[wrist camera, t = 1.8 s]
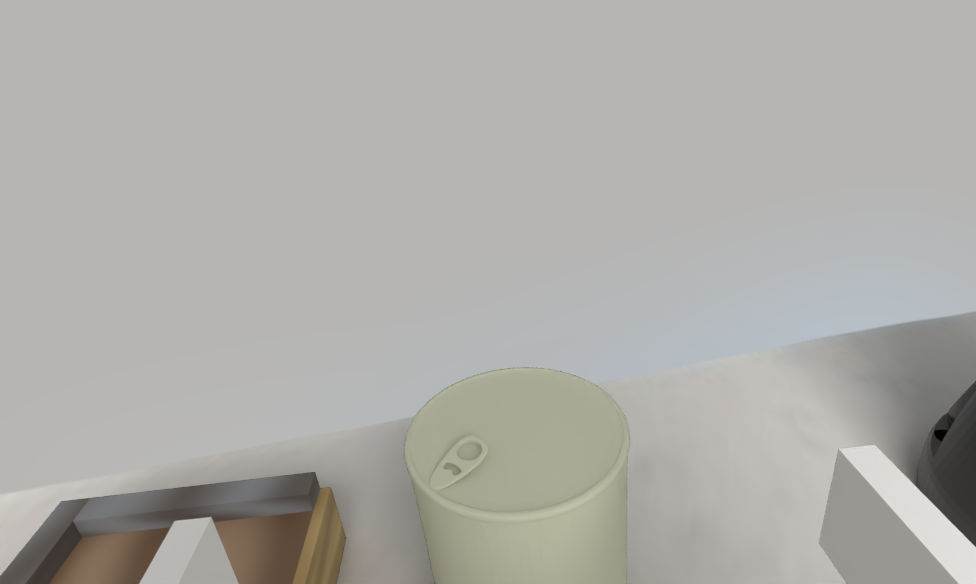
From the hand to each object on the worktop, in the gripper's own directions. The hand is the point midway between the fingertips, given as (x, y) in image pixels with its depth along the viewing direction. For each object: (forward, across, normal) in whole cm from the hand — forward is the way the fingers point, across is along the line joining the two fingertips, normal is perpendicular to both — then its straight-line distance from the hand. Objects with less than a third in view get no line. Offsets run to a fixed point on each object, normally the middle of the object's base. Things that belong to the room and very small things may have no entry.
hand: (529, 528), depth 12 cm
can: (+10, 0, -17) cm, 20 cm away
